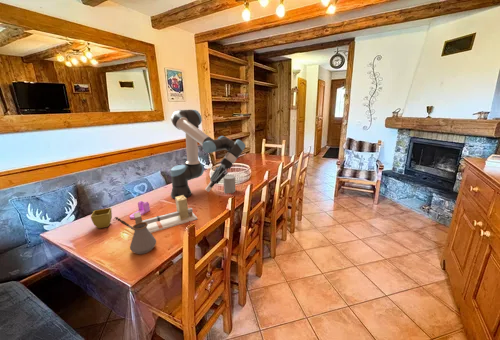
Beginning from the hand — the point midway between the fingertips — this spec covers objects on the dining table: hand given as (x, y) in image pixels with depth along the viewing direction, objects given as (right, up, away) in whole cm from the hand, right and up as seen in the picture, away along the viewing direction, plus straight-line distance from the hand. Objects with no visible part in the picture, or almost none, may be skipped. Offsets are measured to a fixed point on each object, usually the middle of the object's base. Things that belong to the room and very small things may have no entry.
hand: (206, 190), depth 137 cm
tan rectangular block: (-14, -15, -4) cm, 21 cm away
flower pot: (-58, -20, -9) cm, 62 cm away
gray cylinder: (+11, -5, +40) cm, 41 cm away
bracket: (-45, -16, +4) cm, 48 cm away
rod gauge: (-22, -19, -8) cm, 30 cm away
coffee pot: (-29, -25, -30) cm, 48 cm away
